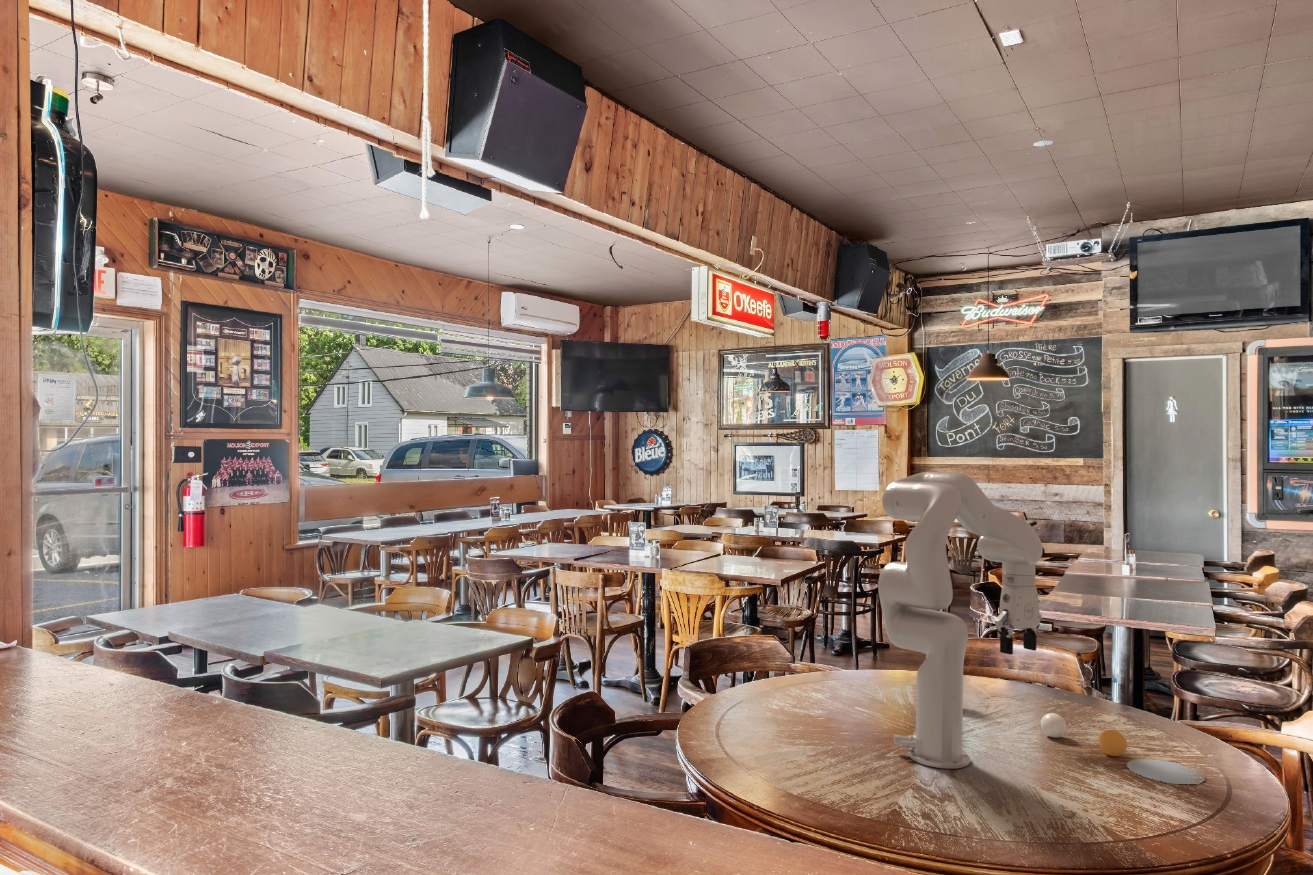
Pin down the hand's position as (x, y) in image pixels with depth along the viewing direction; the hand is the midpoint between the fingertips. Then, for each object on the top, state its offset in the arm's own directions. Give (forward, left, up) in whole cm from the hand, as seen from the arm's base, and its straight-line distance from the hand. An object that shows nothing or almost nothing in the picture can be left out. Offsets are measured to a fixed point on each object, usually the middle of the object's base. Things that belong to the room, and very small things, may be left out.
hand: (1018, 651), depth 202 cm
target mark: (+24, -24, -18) cm, 39 cm away
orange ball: (+16, -17, -15) cm, 28 cm away
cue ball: (+7, -7, -15) cm, 18 cm away
